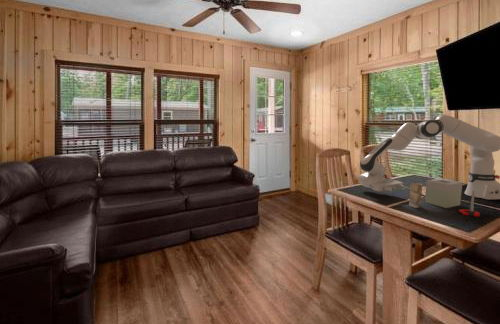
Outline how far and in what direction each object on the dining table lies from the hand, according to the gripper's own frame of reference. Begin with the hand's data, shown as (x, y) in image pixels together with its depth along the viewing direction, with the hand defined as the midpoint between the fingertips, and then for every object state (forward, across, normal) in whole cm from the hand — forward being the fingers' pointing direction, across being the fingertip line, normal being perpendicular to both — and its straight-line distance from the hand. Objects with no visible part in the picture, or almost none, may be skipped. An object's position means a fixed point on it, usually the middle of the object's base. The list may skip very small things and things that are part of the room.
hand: (398, 189), depth 164 cm
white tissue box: (+14, +18, +7) cm, 24 cm away
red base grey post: (+30, +15, +8) cm, 34 cm away
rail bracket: (+11, 0, +7) cm, 13 cm away
